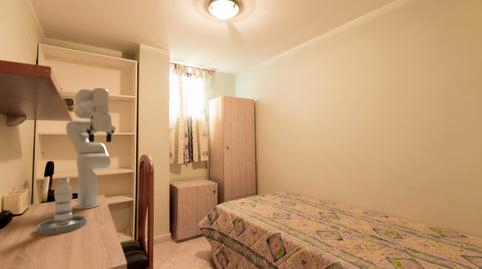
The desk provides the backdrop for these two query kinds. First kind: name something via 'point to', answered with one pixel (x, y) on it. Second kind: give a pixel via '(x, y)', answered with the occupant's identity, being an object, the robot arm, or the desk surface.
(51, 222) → the round tray
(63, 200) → the plastic bottle
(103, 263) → the desk surface
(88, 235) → the desk surface
